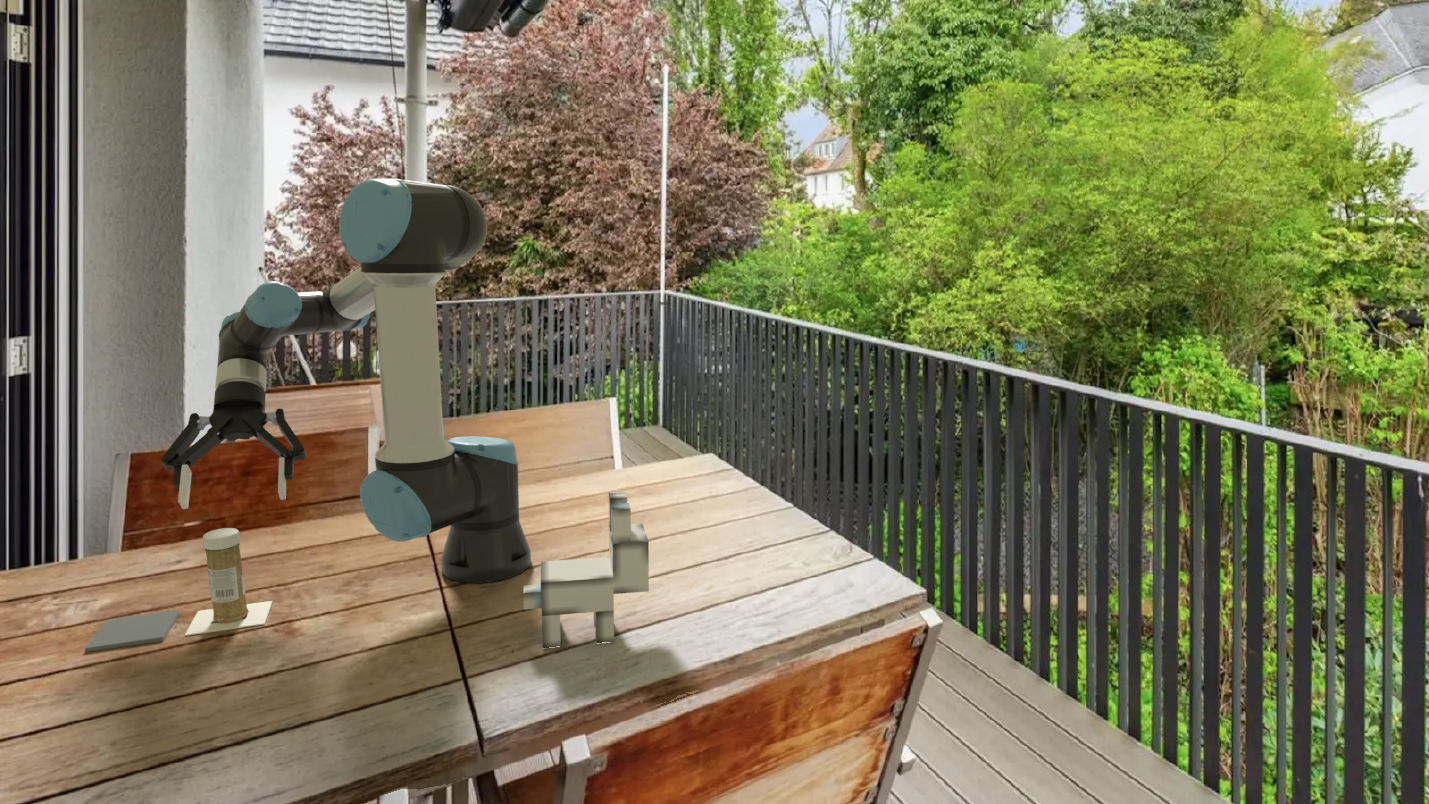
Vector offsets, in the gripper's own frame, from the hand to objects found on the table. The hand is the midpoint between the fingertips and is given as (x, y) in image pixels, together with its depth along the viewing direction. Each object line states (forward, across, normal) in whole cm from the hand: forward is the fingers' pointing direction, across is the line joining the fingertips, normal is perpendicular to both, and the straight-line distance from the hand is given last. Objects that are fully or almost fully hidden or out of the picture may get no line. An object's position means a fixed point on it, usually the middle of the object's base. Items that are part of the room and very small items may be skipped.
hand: (233, 500), depth 123 cm
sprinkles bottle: (+18, 0, -3) cm, 19 cm away
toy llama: (+35, -49, +13) cm, 61 cm away
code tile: (+18, 0, -3) cm, 19 cm away
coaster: (+18, +12, -3) cm, 22 cm away
